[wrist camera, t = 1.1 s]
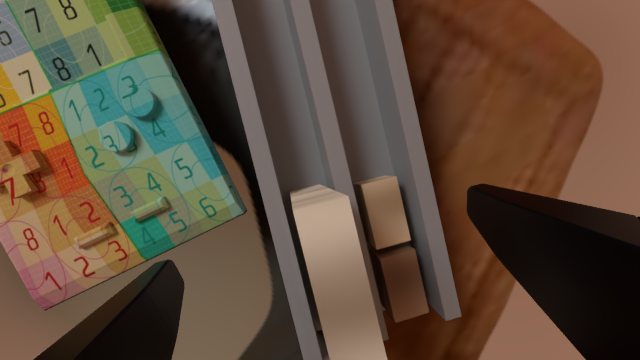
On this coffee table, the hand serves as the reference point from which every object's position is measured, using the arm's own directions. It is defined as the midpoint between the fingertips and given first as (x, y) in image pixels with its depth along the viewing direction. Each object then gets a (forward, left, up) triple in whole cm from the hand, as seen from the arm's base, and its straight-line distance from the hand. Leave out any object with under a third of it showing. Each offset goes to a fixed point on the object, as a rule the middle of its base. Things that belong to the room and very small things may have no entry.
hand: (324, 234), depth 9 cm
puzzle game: (+9, +11, -12) cm, 19 cm away
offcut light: (-2, -5, -10) cm, 12 cm away
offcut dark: (-6, -5, -10) cm, 13 cm away
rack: (+3, -3, -12) cm, 13 cm away
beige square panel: (-4, 0, -10) cm, 11 cm away
